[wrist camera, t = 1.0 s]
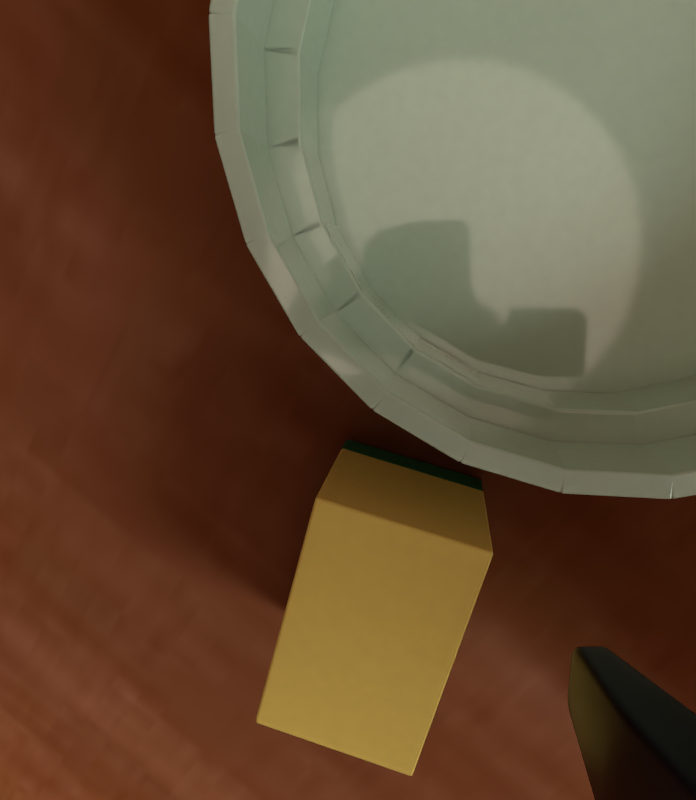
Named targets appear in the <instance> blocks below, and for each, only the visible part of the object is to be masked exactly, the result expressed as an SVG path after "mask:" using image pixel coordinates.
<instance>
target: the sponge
mask: <svg viewBox="0 0 696 800" xmlns="http://www.w3.org/2000/svg"><path fill="white" fill-rule="evenodd" d="M492 556H493V550H492V543H491V537H490V531H489V524H488V518H487V512H486V505H485V499H484V493H483V488H482V482H481V480H480V479H478V478H475V477H471V476H468V475H465V474H461V473H458V472H455V471H451V470H448V469H445V468H442V467H438V466H435V465H432V464H428V463H425V462H422V461H418V460H415V459H412V458H409V457H405V456H402V455H399V454H395V453H392V452H389V451H385V450H382V449H379V448H375V447H372V446H369V445H366V444H362V443H359V442H356V441H352V440H346V441H345V443H344V445H343V447H342V449H341V451H340V453H339V454H338V456H337V458H336V460H335V462H334V464H333V466H332V468H331V470H330V472H329V474H328V475H327V477H326V479H325V481H324V483H323V485H322V487H321V489H320V491H319V493H318V495H317V497H316V498H315V502H314V505H313V509H312V513H311V516H310V520H309V524H308V528H307V531H306V535H305V539H304V542H303V546H302V550H301V553H300V557H299V561H298V565H297V568H296V572H295V576H294V579H293V583H292V587H291V590H290V594H289V598H288V602H287V605H286V609H285V613H284V616H283V620H282V624H281V628H280V631H279V635H278V639H277V642H276V646H275V650H274V653H273V657H272V661H271V665H270V668H269V672H268V676H267V679H266V683H265V687H264V690H263V694H262V698H261V702H260V705H259V709H258V713H257V716H256V722H257V723H259V724H262V725H265V726H268V727H271V728H273V729H276V730H279V731H282V732H285V733H288V734H291V735H294V736H297V737H299V738H302V739H305V740H308V741H311V742H314V743H317V744H320V745H323V746H325V747H328V748H331V749H334V750H337V751H340V752H343V753H346V754H349V755H351V756H354V757H357V758H360V759H363V760H366V761H369V762H372V763H375V764H377V765H380V766H383V767H386V768H389V769H392V770H395V771H398V772H401V773H403V774H406V775H409V776H411V775H412V774H413V772H414V769H415V766H416V764H417V761H418V758H419V756H420V753H421V750H422V747H423V745H424V742H425V739H426V736H427V734H428V731H429V728H430V725H431V723H432V720H433V717H434V715H435V712H436V709H437V706H438V704H439V701H440V698H441V695H442V693H443V690H444V687H445V685H446V682H447V679H448V676H449V674H450V671H451V668H452V665H453V663H454V660H455V657H456V655H457V652H458V649H459V646H460V644H461V641H462V638H463V635H464V633H465V630H466V627H467V624H468V622H469V619H470V616H471V614H472V611H473V608H474V605H475V603H476V600H477V597H478V594H479V592H480V589H481V586H482V584H483V581H484V578H485V575H486V573H487V570H488V567H489V564H490V562H491V559H492Z"/></svg>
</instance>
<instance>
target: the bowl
mask: <svg viewBox="0 0 696 800" xmlns="http://www.w3.org/2000/svg"><path fill="white" fill-rule="evenodd" d="M209 12H210V13H211V14H209V35H210V55H211V75H212V96H213V116H214V132H215V135H216V136H215V140H216V143H217V147H218V150H219V154H220V157H221V161H222V164H223V167H224V171H225V174H226V178H227V181H228V185H229V188H230V192H231V195H232V198H233V202H234V205H235V209H236V212H237V216H238V219H239V222H240V226H241V229H242V233H243V236H244V240H245V242H246V243H247V247H248V249H249V251H250V253H251V254H252V256H253V258H254V259H255V261H256V263H257V265H258V266H259V268H260V270H261V272H262V273H263V275H264V277H265V278H266V280H267V282H268V284H269V285H270V287H271V289H272V290H273V292H274V294H275V296H276V297H277V299H278V301H279V302H280V304H281V306H282V308H283V309H284V311H285V313H286V315H287V316H288V318H289V320H290V321H291V323H292V325H293V327H294V328H295V330H296V332H297V333H298V335H299V336H301V338H302V339H303V340H304V342H305V343H306V344H307V345H308V346H309V347H310V348H311V349H312V350H313V351H314V352H315V353H316V354H317V355H318V356H319V357H320V358H321V359H322V360H323V361H324V362H325V363H326V364H327V365H328V366H329V367H330V368H331V369H332V370H333V371H334V372H335V373H336V374H337V375H338V376H339V377H340V378H341V379H342V380H343V381H344V382H345V383H346V384H347V385H348V386H349V387H350V388H351V389H352V390H353V391H354V392H355V393H356V394H357V395H358V396H359V397H360V398H361V399H362V400H363V402H364V403H365V404H366V405H367V406H368V407H369V408H373V410H374V412H376V413H378V414H379V415H381V416H383V417H384V418H386V419H388V420H389V421H391V422H393V423H394V424H396V425H398V426H399V427H401V428H403V429H404V430H406V431H408V432H409V433H411V434H413V435H414V436H416V437H418V438H419V439H421V440H423V441H424V442H426V443H428V444H429V445H431V446H433V447H434V448H436V449H438V450H439V451H441V452H443V453H444V454H446V455H448V456H449V457H451V458H453V459H454V460H456V461H461V463H463V464H466V465H469V466H472V467H476V468H479V469H482V470H486V471H489V472H492V473H496V474H499V475H502V476H505V477H509V478H512V479H515V480H519V481H522V482H525V483H529V484H532V485H535V486H539V487H542V488H545V489H549V490H552V491H555V492H560V491H561V493H564V494H582V495H601V496H619V497H638V498H657V499H671V498H680V497H686V496H692V495H696V0H211V1H210V7H209Z"/></svg>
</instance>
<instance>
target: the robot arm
mask: <svg viewBox="0 0 696 800" xmlns="http://www.w3.org/2000/svg"><path fill="white" fill-rule="evenodd" d="M568 706H569V711H570V715H571V719H572V722H573V725H574V729H575V732H576V736H577V739H578V743H579V746H580V750H581V753H582V756H583V760H584V763H585V767H586V770H587V774H588V777H589V781H590V784H591V787H592V791H593V794H594V798H595V800H696V714H695V713H694V712H692V711H691V710H690V709H688V708H687V707H686V706H684V705H683V704H682V703H680V702H679V701H678V700H676V699H675V698H674V697H672V696H671V695H670V694H668V693H667V692H665V691H664V690H663V689H661V688H660V687H659V686H657V685H656V684H655V683H653V682H652V681H651V680H649V679H648V678H647V677H645V676H644V675H643V674H641V673H640V672H638V671H637V670H636V669H634V668H633V667H632V666H630V665H629V664H628V663H626V662H625V661H624V660H622V659H621V658H620V657H618V656H617V655H616V654H614V653H613V652H612V651H610V650H609V649H607V648H605V647H601V646H595V647H577V648H576V649H575V650H574V651H573V654H572V659H571V668H570V678H569V687H568Z"/></svg>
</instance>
